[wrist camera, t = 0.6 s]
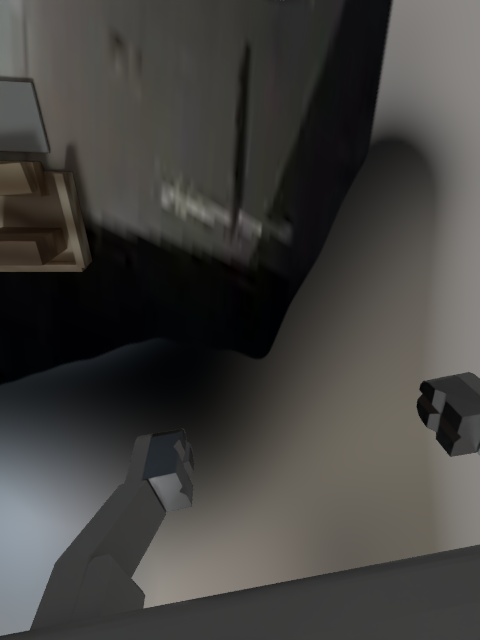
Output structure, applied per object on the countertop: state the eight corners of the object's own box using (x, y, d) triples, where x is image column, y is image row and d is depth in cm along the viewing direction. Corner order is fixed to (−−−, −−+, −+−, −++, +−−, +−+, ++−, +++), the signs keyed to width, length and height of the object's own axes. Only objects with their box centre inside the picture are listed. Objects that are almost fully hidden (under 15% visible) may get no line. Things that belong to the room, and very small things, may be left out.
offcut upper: (-25, 166, 41) (-32, 166, 39) (25, 162, 41) (19, 162, 40) (-11, 195, 43) (-18, 197, 41) (37, 191, 43) (31, 192, 42)
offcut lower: (-18, 159, 42) (-30, 160, 40) (40, 161, 43) (32, 162, 41) (-6, 193, 45) (-17, 195, 43) (49, 194, 45) (41, 196, 43)
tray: (-42, 168, 43) (-61, 169, 40) (72, 172, 44) (62, 173, 41) (-3, 267, 51) (-17, 274, 48) (93, 267, 52) (86, 274, 49)
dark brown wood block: (3, 226, 47) (-35, 240, 40) (61, 227, 48) (35, 241, 41) (10, 248, 49) (-25, 265, 42) (67, 248, 50) (42, 265, 42)
